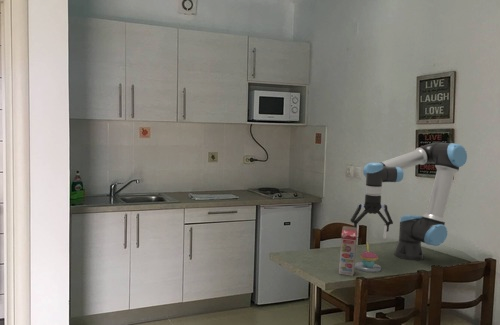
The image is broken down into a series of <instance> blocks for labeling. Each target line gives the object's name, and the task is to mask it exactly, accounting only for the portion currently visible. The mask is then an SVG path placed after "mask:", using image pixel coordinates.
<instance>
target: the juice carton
mask: <svg viewBox="0 0 500 325" xmlns="http://www.w3.org/2000/svg"><path fill="white" fill-rule="evenodd" d="M357 241H358V237H357V228H354V226H347V225H343V226H342V230H341V238H340V253H339V264H338V265H339V266H338V274H339V275H344V276H345V275H346V276H351V277H354V275H353V274H355V263H356V252H357Z"/></svg>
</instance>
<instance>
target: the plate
mask: <svg viewBox="0 0 500 325" xmlns="http://www.w3.org/2000/svg"><path fill="white" fill-rule="evenodd" d="M355 269H356V270H357V271H360V272H364V273H380V272H382V266H381V265H380V264H377V263H374V265H373V267H365V266H363V262H362V261H357V262H355V268H354V270H355Z"/></svg>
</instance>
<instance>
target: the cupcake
mask: <svg viewBox="0 0 500 325" xmlns="http://www.w3.org/2000/svg"><path fill="white" fill-rule="evenodd" d="M366 243H367V244H366V245H367V246H366V247H367V248H366V251H363V252H361V253H360V256H359V257H360V260H361V262H363V266H365V267H373V265H374V264H376V263H375V262H376V261H378V260H379V256H378V254H376V253H375V252H372V251H370V250H369V249H370V248H369V241H367V242H366Z"/></svg>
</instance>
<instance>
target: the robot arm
mask: <svg viewBox="0 0 500 325" xmlns="http://www.w3.org/2000/svg"><path fill="white" fill-rule="evenodd" d="M467 160H468V154H467V150H466V148H465V147H464V146H463V145H461V144H459V143H454V142H451V143H450V142H432V143H428V144H425V145H422V146H420V147H416V148H415V149H414V150H413V151H409V152H408V153H407V152H406V153H404V154H401V155H398V156H396V157H392V158H389V159H386V160H383V161H380V162H368V163H367V164H366V165H364V167H363V170H362V173H363V176H364V177H365V179H366V180H365V195H364V204H362V203H358V204H357V208H356V210H355V211H354V213H353V215H352V216H351V219H350V222H351V223H352V224H353V227H354V228H357V238H359V228H360V227H359V226H360V224H359V222H360V221H362V219H363V218H364V217H365V216H366V215H367V214H369V215H370V214H373V215H376V214H377V215H378V216H379V217H380V218H381V220H382V221H383V222H384V224H383V233H382V234H383V236H382V237H383V239H387V233H388V232H389V228H390V225H393V224H394V221H393V220H392V217H391V215H390V212H389V210H388V205H387V204H382V203H381V202H382V196H381V195H382V192H383V191H382V189H383V183H399V182H401V181H402V180H403V179H404V170H406V169H409V168H411V167H416V166H418V165H421V166H424V165H426V164H434V167H435V168H436V172H435V178H434V181H433V185H432V188H431V192H430V194H429V195H430V196H429V201H428V204H427V208H426V211H425V213H423V214H422V215H420V214H419V215H418V214H417V215H416V214H415V215H414V214H404V215H401V216H400V221H399V230H398V231H399V235H398V241H397V245H396V247H395V248H394V254H393V255H394V256H395V257H397V258H400V259H404V260H409V261H420V260H421V261H422V260H423V259H424V251H423V249H422V248H423V247H422V244H423V243H424V244H426V245H429V246H433V247H434V246H435V247H437V246H440V245H441V244H443V243H444V242H445V240H446V239H447V237H448V229H447V227H446V225H445V224H446V221H445V219H444V215H445V212H446V207H447V204H448V199H449V196H450V193H451V188H452V185H453V184H452V183H453V181H454V180H453V179H454V177H455V174H456V173H458V172H459V170H460V168H461V167H463V166H465V164H466V163H467ZM363 208H364V209H363ZM362 209H363V211H362V212H361V210H362ZM381 209H382V210H383V211H384V213H385V216H386V218H387V219H386V218H385V217H384V215H383V214H382V212H381V211H380V210H381ZM360 212H361V214H360Z"/></svg>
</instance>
